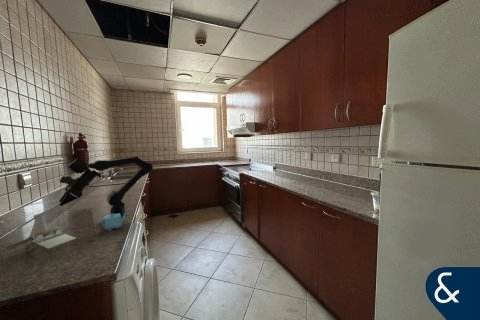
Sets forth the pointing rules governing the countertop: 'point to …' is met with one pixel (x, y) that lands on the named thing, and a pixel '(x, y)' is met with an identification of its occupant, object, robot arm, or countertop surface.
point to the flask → (38, 225)
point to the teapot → (113, 221)
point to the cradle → (41, 238)
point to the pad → (56, 241)
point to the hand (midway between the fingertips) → (60, 203)
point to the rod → (47, 231)
